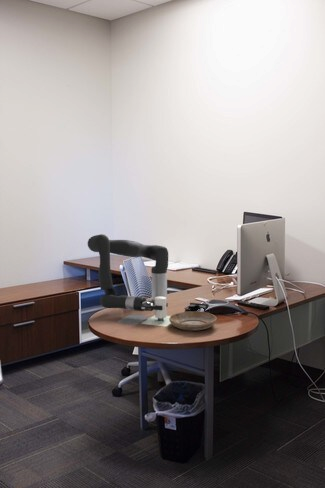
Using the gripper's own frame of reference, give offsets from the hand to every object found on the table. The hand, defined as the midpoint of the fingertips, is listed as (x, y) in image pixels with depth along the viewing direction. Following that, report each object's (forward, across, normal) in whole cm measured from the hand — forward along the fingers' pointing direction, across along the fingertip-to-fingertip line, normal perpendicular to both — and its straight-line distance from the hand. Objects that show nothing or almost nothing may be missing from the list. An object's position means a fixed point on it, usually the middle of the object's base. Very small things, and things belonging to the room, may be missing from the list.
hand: (164, 306), depth 265 cm
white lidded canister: (-2, 0, +6) cm, 6 cm away
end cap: (+13, +16, +8) cm, 22 cm away
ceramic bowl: (+17, -3, +8) cm, 19 cm away
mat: (-16, -4, +8) cm, 19 cm away
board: (-2, 0, +8) cm, 8 cm away
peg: (-2, 0, +8) cm, 8 cm away
